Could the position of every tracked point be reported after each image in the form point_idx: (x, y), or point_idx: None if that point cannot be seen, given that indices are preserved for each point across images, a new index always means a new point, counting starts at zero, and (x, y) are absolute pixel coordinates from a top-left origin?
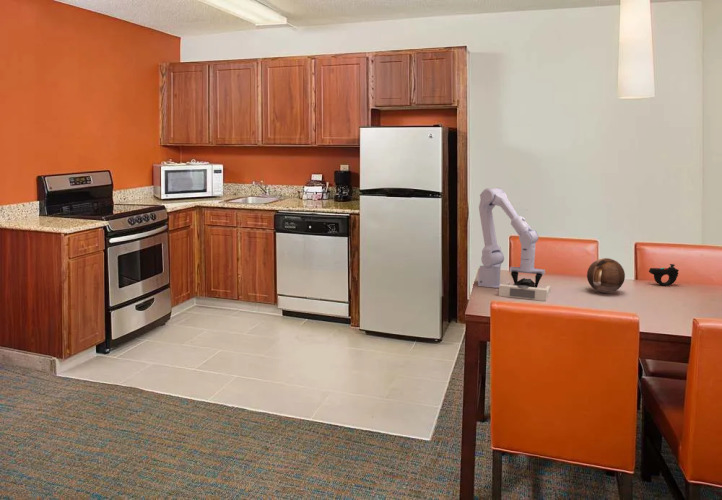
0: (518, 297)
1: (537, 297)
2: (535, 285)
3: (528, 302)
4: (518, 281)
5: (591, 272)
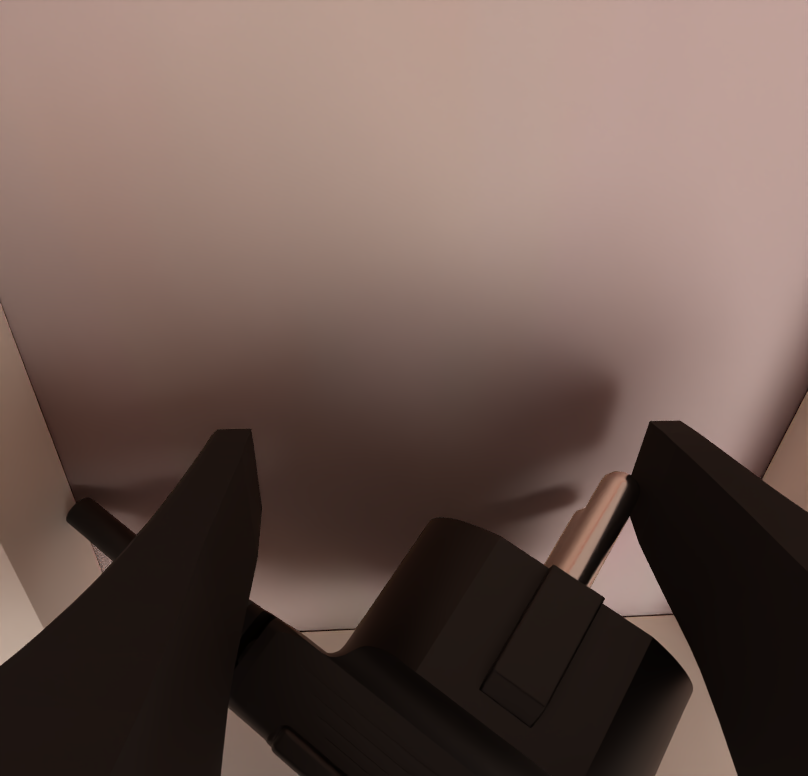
0: None
1: None
2: (687, 617)
3: None
4: (301, 770)
5: None
